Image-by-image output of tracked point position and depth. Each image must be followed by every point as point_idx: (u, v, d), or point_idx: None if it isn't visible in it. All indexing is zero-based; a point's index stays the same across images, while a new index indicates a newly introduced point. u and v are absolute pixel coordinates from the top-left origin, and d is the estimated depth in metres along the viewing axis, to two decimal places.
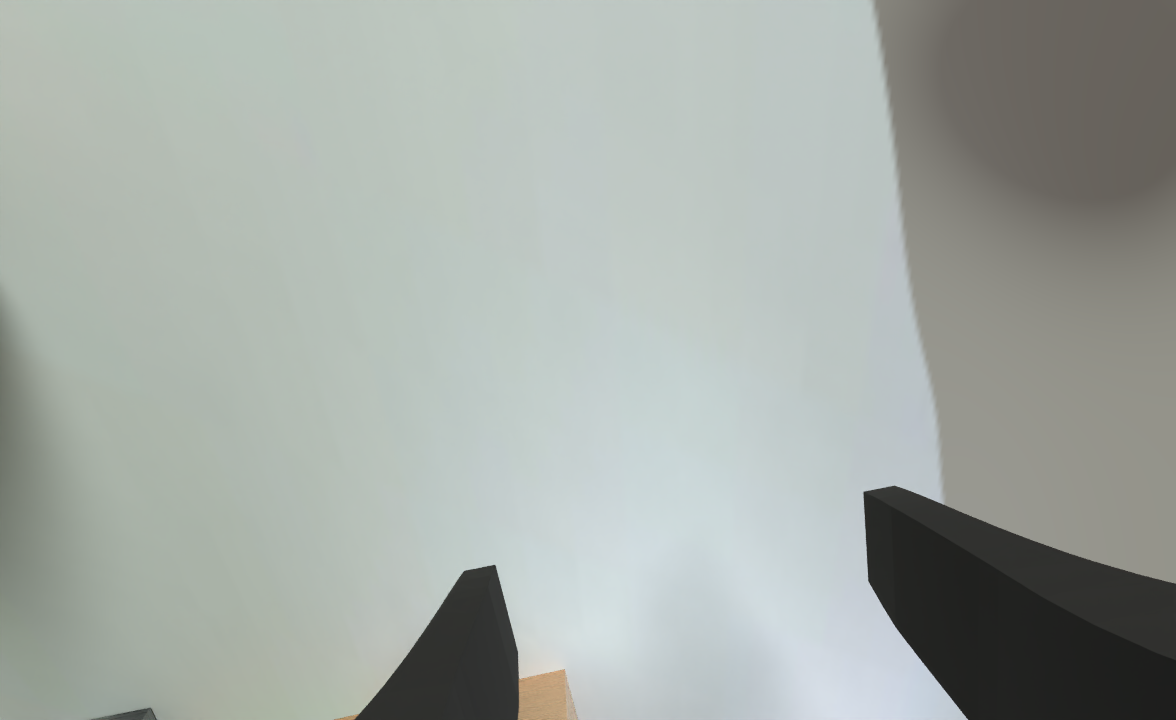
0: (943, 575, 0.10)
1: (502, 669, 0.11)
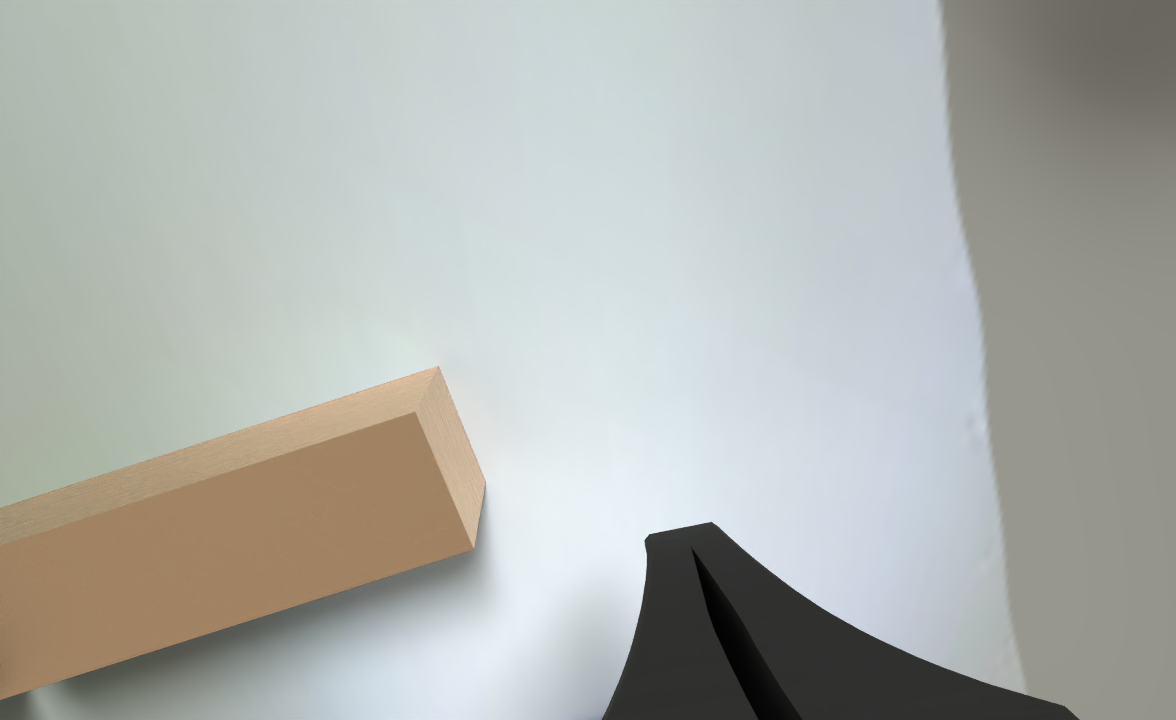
0: (721, 619, 0.10)
1: None
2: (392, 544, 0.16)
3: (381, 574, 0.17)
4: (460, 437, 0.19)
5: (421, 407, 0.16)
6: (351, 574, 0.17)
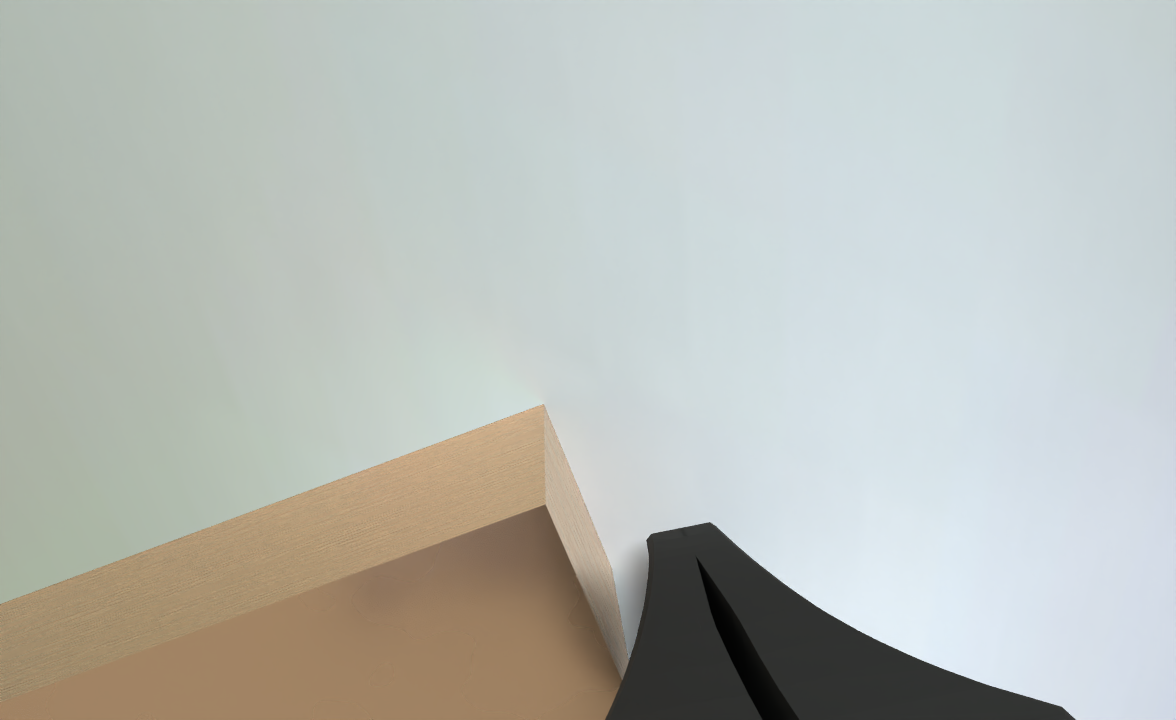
0: (719, 620, 0.10)
1: None
2: None
3: None
4: (583, 516, 0.12)
5: (548, 491, 0.09)
6: None
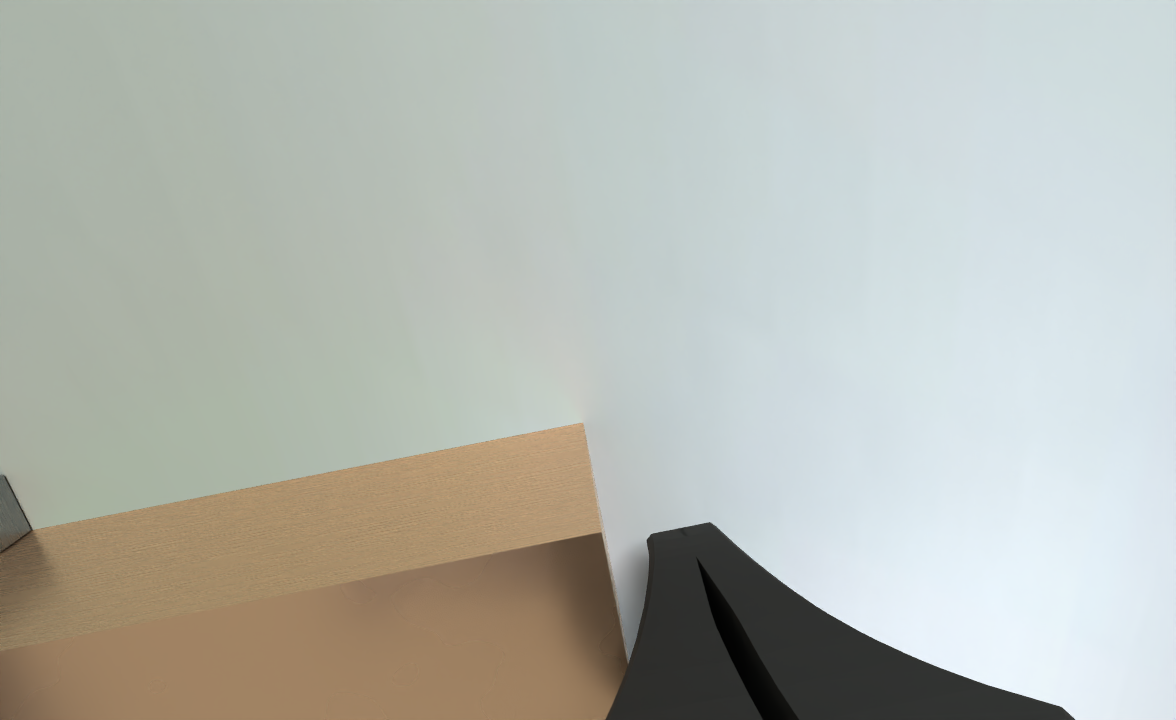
0: (719, 620, 0.10)
1: None
2: None
3: None
4: (605, 540, 0.12)
5: (599, 517, 0.09)
6: None
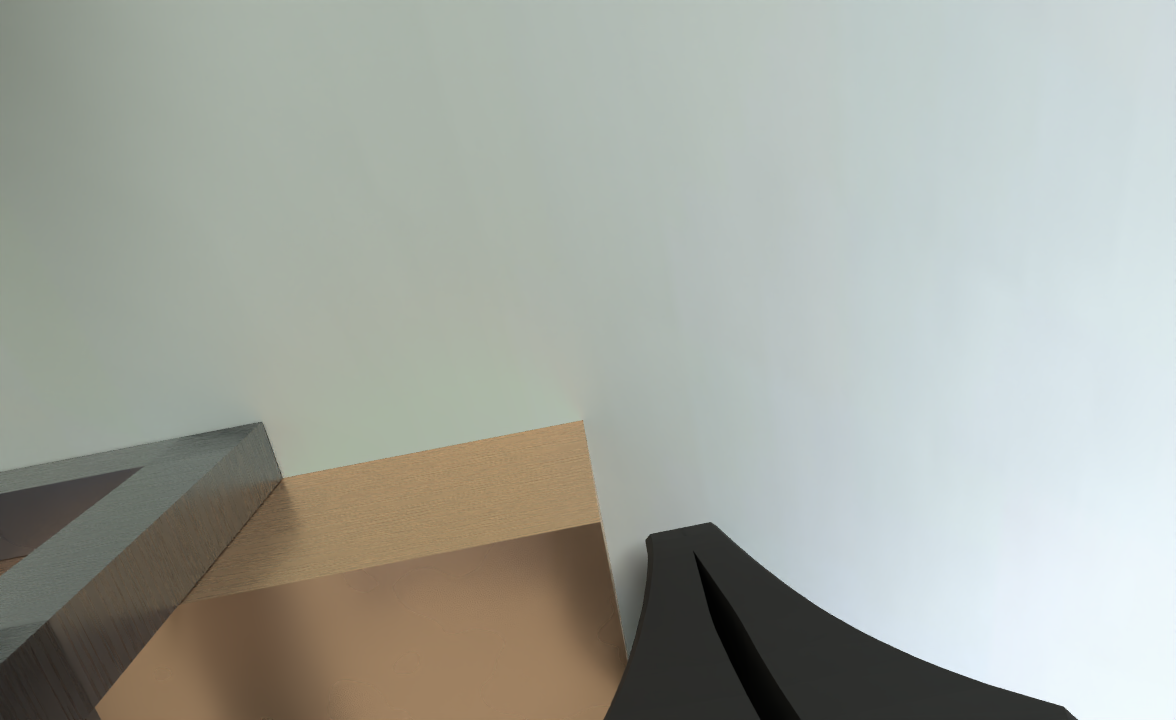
0: (720, 620, 0.10)
1: None
2: None
3: None
4: None
5: (598, 508, 0.10)
6: None
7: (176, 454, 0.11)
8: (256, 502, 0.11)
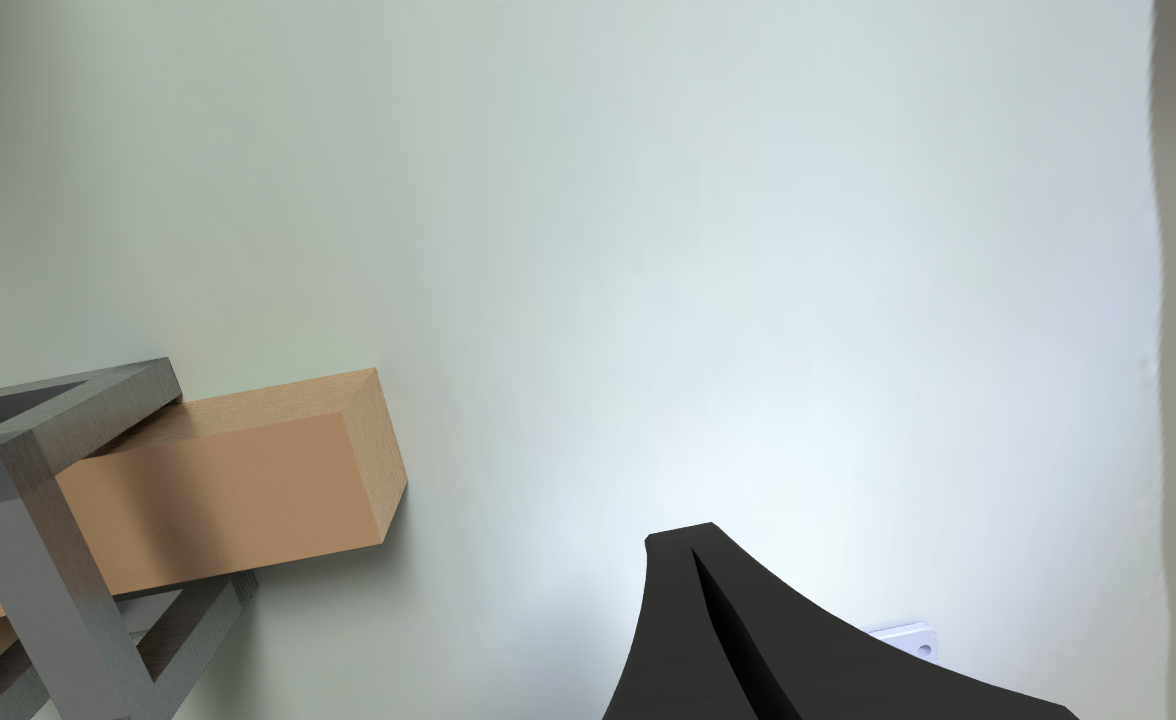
0: (721, 620, 0.10)
1: None
2: (305, 530, 0.18)
3: (292, 556, 0.18)
4: (387, 436, 0.20)
5: (349, 407, 0.17)
6: (263, 553, 0.18)
7: (111, 373, 0.19)
8: (161, 403, 0.19)
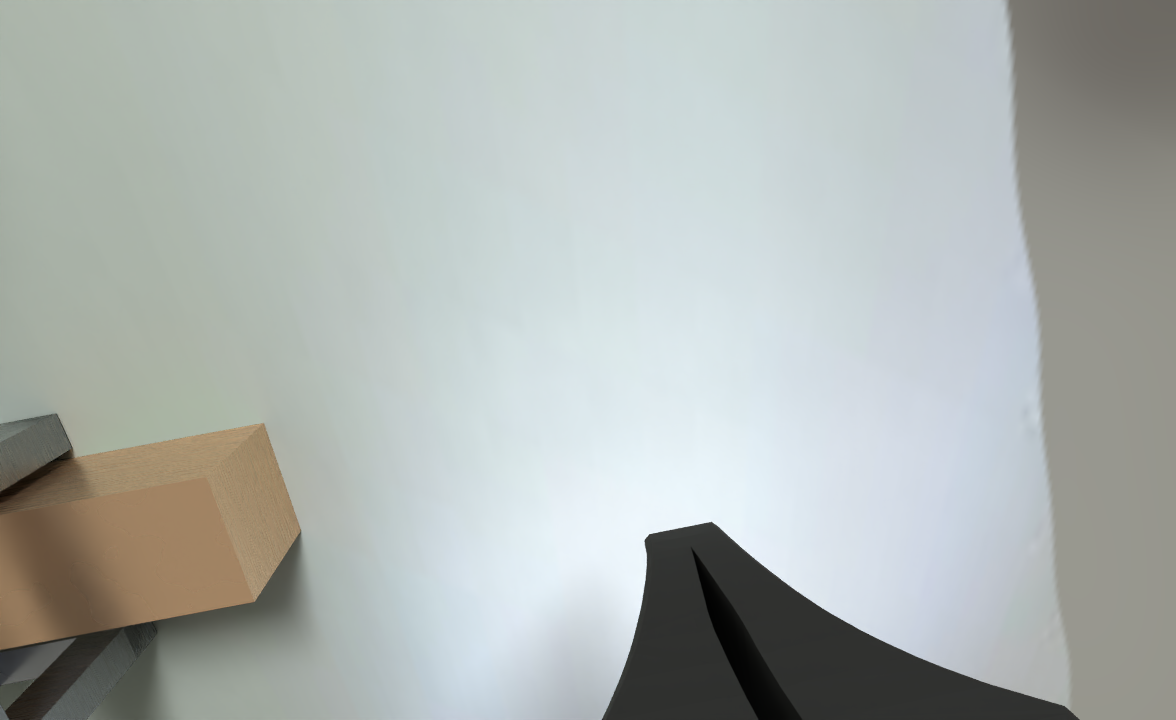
0: (721, 620, 0.10)
1: None
2: (177, 589, 0.18)
3: (166, 614, 0.18)
4: (274, 491, 0.21)
5: (219, 471, 0.18)
6: (137, 611, 0.18)
7: None
8: (45, 460, 0.19)
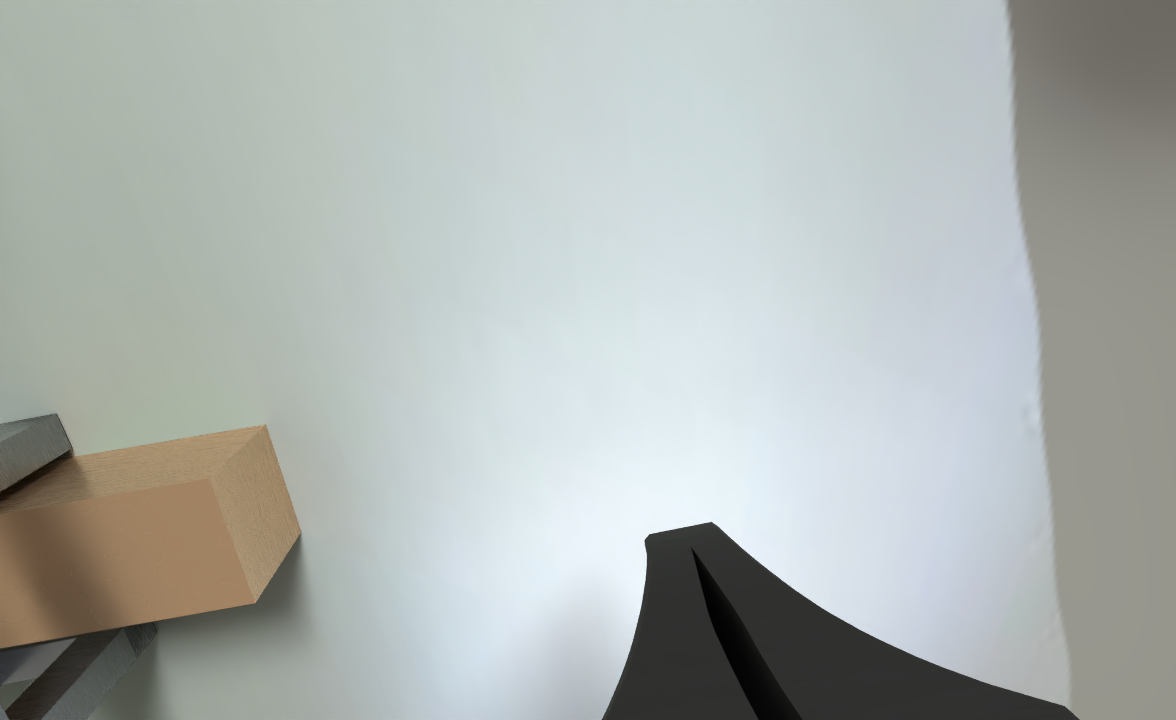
0: (721, 620, 0.10)
1: None
2: (178, 590, 0.18)
3: (167, 615, 0.18)
4: (275, 492, 0.21)
5: (221, 472, 0.18)
6: (138, 612, 0.18)
7: None
8: (45, 460, 0.19)
